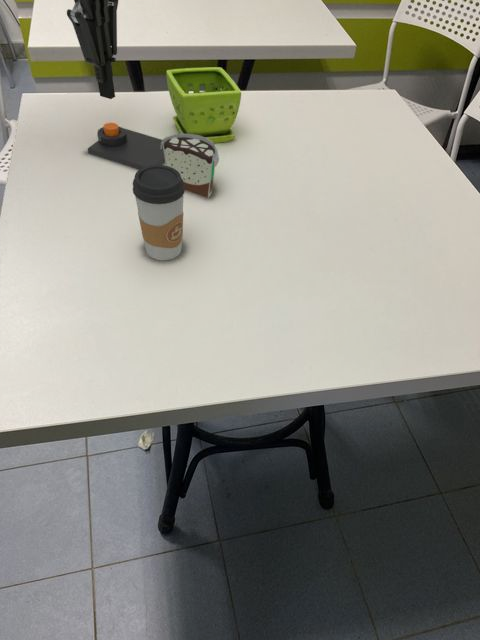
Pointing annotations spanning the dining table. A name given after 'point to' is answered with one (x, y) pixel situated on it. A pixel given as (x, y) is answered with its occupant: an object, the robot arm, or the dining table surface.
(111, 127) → the button
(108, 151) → the dark grey flat block
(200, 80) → the flower pot
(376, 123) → the dining table surface
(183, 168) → the food container
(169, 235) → the coffee cup
